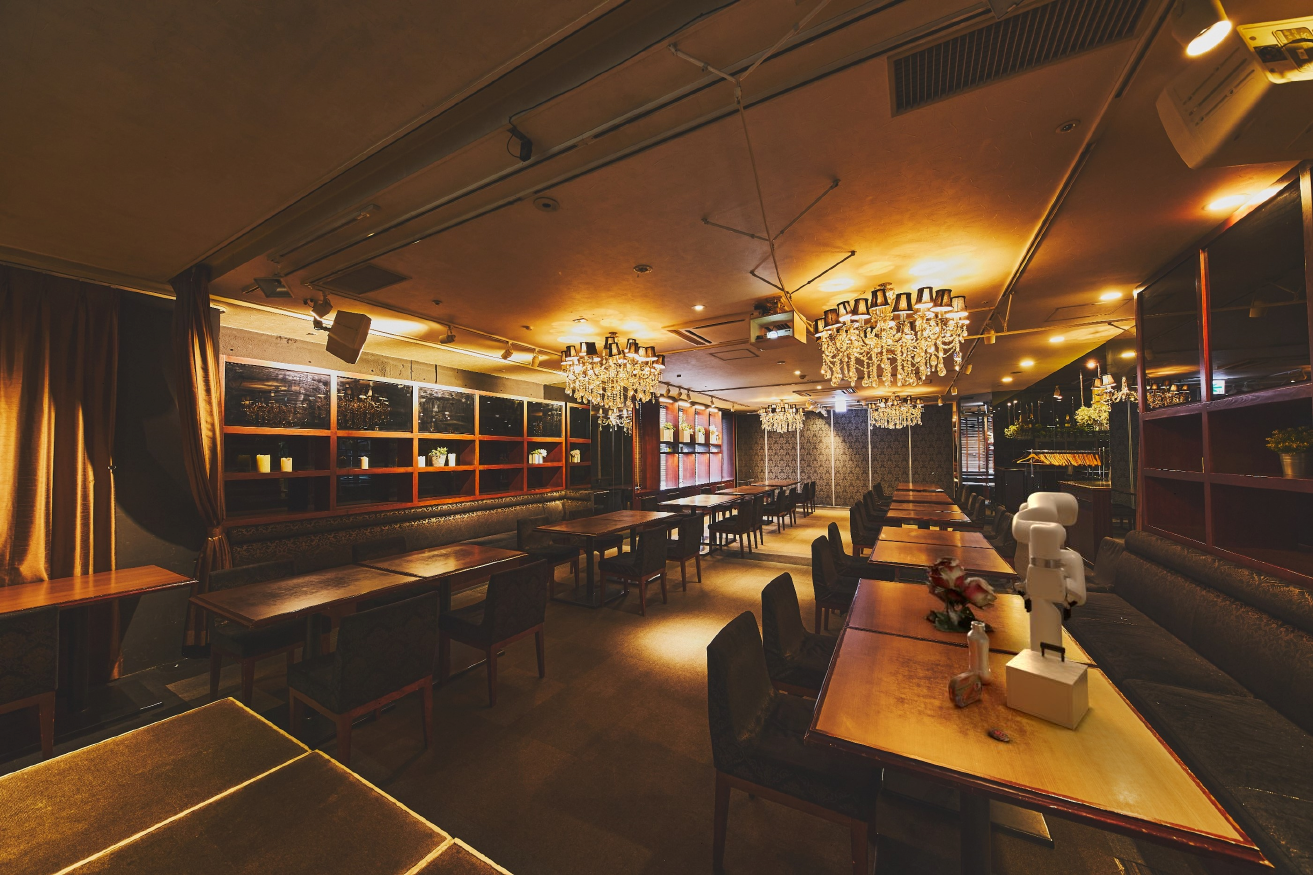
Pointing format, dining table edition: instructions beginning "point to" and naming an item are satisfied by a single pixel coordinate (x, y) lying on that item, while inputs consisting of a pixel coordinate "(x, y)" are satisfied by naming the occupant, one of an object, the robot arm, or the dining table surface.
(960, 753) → the dining table surface
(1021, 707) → the bin
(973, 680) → the tin
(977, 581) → the rose bouquet
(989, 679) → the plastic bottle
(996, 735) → the matchbox
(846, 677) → the dining table surface
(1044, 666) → the bin lid
